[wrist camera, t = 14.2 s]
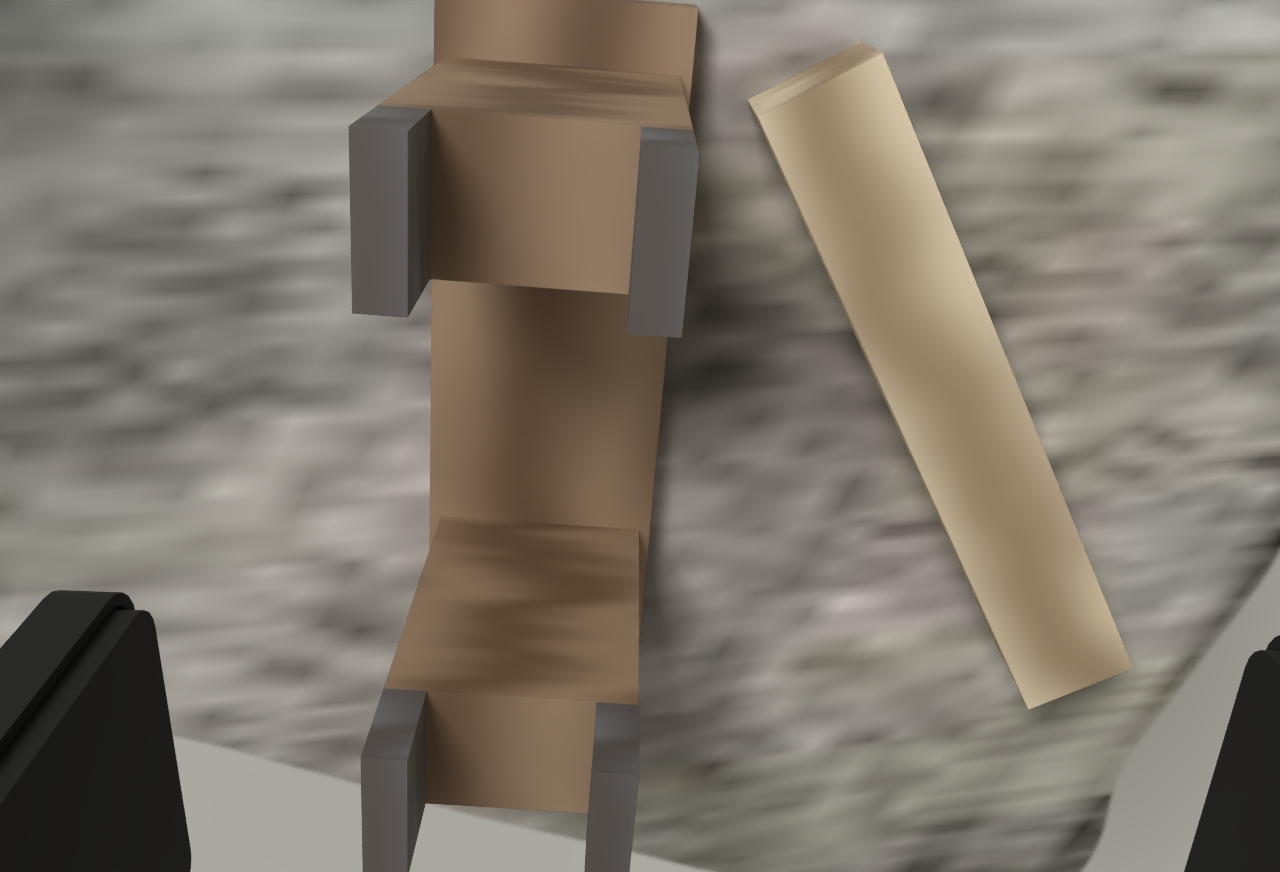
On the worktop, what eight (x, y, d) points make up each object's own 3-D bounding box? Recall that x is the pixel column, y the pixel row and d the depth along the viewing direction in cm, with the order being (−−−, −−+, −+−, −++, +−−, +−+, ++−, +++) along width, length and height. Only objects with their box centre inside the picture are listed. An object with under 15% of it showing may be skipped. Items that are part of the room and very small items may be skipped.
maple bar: (858, 40, 38) (882, 53, 34) (1094, 609, 47) (1133, 668, 43) (746, 98, 39) (757, 117, 35) (998, 648, 47) (1028, 709, 44)
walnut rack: (696, 5, 37) (729, 54, 24) (637, 646, 47) (636, 947, 33) (442, -17, 37) (326, 21, 23) (434, 632, 47) (349, 930, 33)
